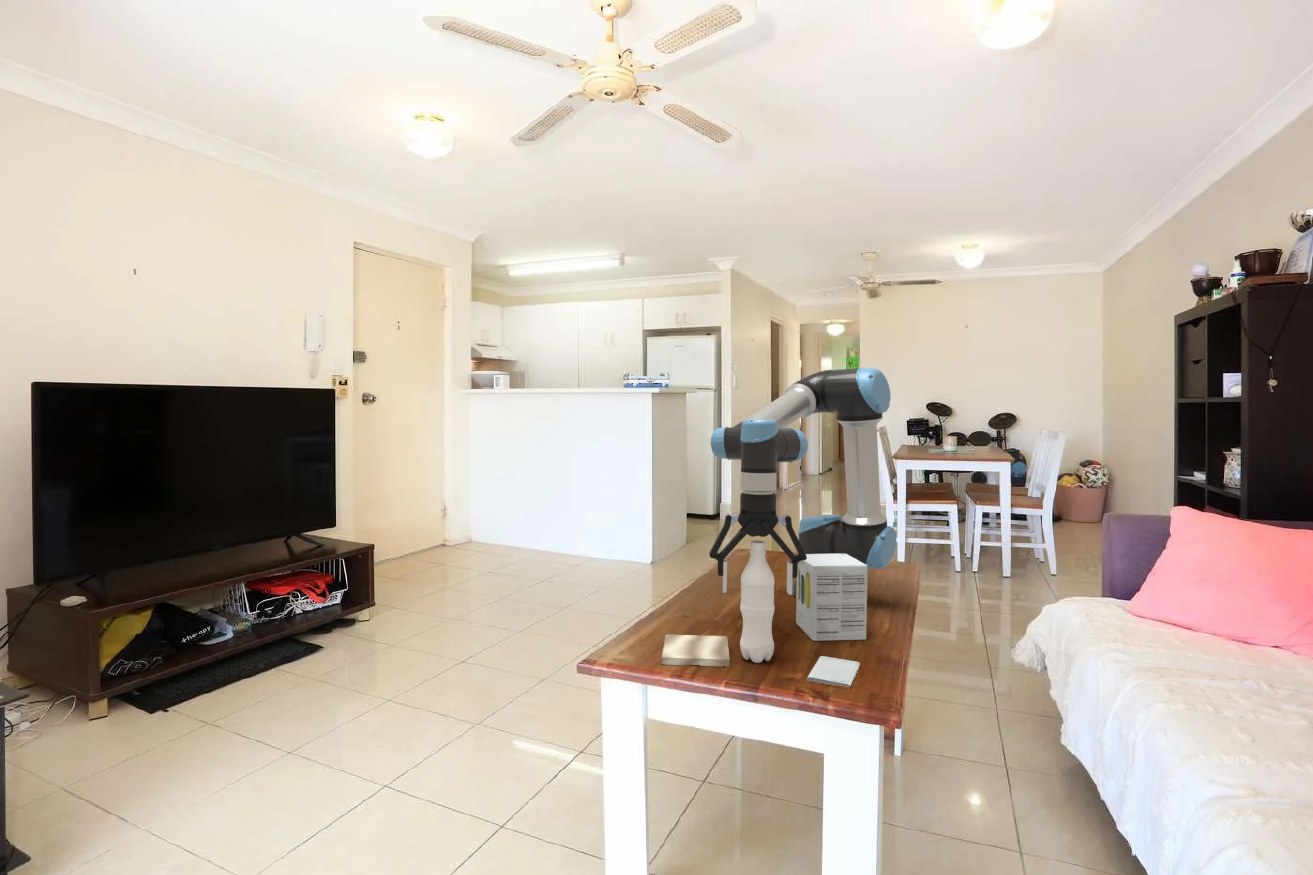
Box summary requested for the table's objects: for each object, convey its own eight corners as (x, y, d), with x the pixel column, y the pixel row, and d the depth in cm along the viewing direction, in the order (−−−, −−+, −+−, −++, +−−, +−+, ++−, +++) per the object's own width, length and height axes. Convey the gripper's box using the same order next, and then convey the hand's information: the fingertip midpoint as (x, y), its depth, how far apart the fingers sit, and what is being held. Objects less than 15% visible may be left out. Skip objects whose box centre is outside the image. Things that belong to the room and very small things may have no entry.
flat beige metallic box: (726, 642, 145) (727, 636, 145) (729, 666, 131) (729, 659, 131) (665, 641, 146) (665, 634, 146) (661, 664, 132) (661, 657, 132)
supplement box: (794, 623, 159) (795, 553, 159) (845, 621, 161) (846, 552, 160) (812, 641, 146) (813, 565, 146) (867, 640, 147) (868, 564, 147)
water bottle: (753, 667, 131) (754, 546, 130) (733, 655, 137) (734, 540, 137) (781, 661, 134) (782, 543, 133) (760, 650, 141) (761, 537, 140)
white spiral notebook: (850, 684, 120) (860, 661, 131) (806, 676, 124) (819, 654, 135) (850, 693, 120) (859, 669, 132) (806, 685, 124) (819, 662, 135)
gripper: (815, 491, 137) (813, 588, 138) (699, 489, 139) (698, 585, 140) (821, 495, 130) (819, 598, 131) (699, 493, 132) (697, 595, 132)
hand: (756, 592), depth 135 cm, fingers open, 13 cm apart
